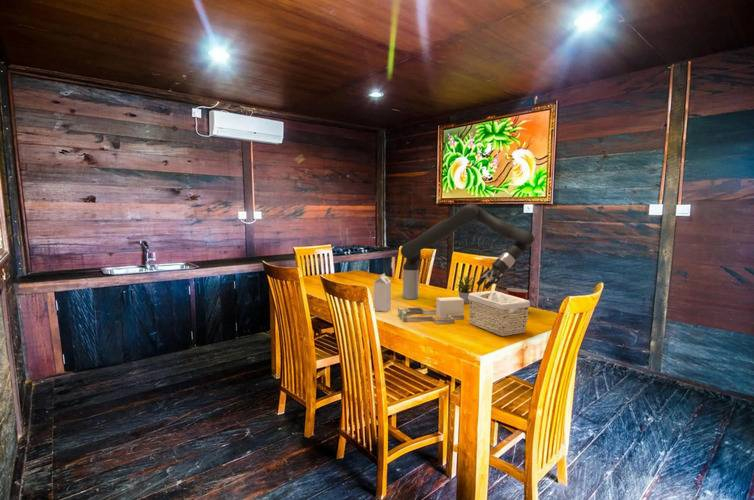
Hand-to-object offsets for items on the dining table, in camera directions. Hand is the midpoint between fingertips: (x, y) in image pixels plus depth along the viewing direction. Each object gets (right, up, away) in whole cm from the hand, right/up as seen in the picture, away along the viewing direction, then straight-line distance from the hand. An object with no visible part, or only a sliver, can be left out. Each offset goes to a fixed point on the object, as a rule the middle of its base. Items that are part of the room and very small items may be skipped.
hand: (481, 286), depth 195 cm
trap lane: (-26, -15, -3) cm, 30 cm away
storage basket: (+2, -17, -19) cm, 26 cm away
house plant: (-1, -12, +27) cm, 29 cm away
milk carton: (-50, -14, +10) cm, 53 cm away
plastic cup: (+21, -14, +9) cm, 26 cm away
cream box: (-16, -15, -1) cm, 22 cm away
